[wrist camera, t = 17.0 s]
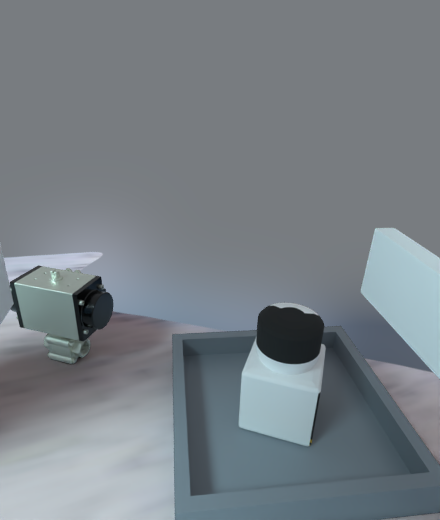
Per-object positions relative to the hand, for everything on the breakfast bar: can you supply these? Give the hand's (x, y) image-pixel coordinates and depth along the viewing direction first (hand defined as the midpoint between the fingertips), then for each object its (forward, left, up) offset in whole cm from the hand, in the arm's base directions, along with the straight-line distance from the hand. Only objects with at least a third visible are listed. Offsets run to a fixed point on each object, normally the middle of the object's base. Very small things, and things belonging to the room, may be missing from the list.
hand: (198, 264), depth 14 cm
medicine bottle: (+10, +16, -25) cm, 32 cm away
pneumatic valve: (-14, +29, -26) cm, 42 cm away
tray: (+10, +16, -26) cm, 32 cm away
